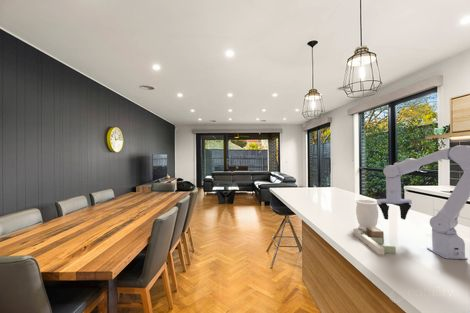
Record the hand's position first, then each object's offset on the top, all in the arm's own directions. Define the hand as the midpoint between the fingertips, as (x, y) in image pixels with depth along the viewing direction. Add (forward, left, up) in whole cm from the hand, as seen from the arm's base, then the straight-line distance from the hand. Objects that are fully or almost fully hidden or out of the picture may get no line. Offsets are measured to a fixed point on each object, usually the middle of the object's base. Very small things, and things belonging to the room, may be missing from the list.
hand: (394, 219), depth 103 cm
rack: (-5, +12, -10) cm, 16 cm away
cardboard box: (0, +9, -10) cm, 14 cm away
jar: (+15, +5, -10) cm, 19 cm away
